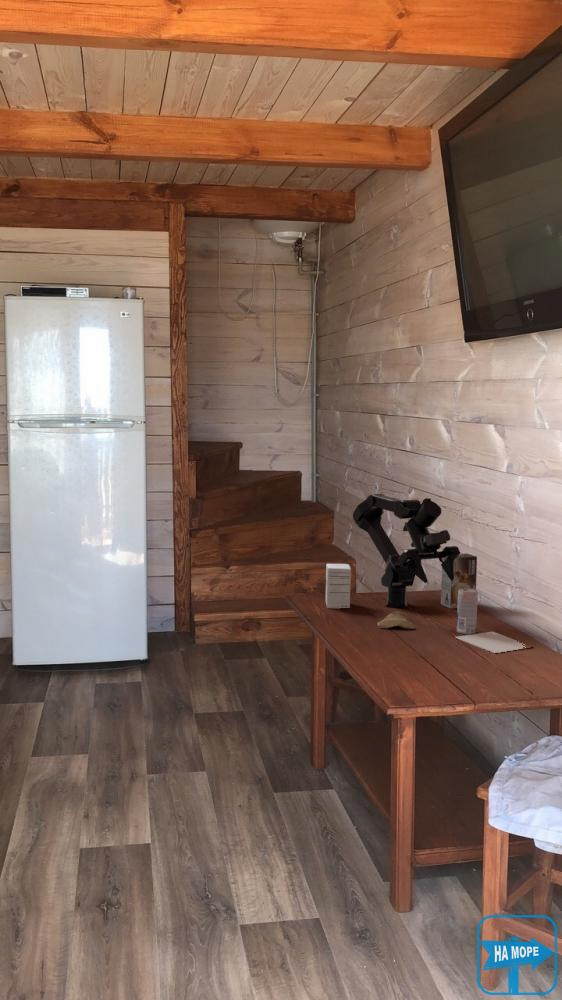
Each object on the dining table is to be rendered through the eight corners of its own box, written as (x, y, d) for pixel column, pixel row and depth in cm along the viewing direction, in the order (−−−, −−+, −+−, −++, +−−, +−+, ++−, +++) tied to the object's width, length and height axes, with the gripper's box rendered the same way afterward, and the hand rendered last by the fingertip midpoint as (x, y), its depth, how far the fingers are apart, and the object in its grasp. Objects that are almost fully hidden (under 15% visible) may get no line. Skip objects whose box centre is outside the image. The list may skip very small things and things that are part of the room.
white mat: (455, 637, 236) (455, 636, 236) (492, 632, 242) (492, 631, 242) (495, 653, 222) (495, 652, 222) (533, 647, 228) (533, 646, 228)
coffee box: (465, 602, 278) (467, 552, 276) (475, 607, 271) (478, 556, 270) (439, 604, 275) (441, 554, 273) (449, 608, 269) (452, 557, 267)
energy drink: (469, 628, 246) (471, 587, 244) (479, 634, 241) (481, 591, 239) (452, 630, 244) (454, 588, 243) (462, 635, 239) (464, 592, 238)
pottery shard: (416, 635, 244) (412, 618, 254) (416, 621, 243) (412, 604, 252) (377, 636, 245) (375, 619, 254) (377, 623, 243) (374, 605, 253)
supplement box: (325, 602, 274) (326, 563, 272) (348, 603, 274) (349, 563, 272) (326, 608, 266) (327, 567, 265) (350, 609, 266) (351, 568, 265)
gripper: (406, 522, 249) (425, 569, 241) (459, 519, 257) (479, 564, 249) (389, 543, 257) (407, 589, 249) (441, 539, 265) (460, 584, 257)
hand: (439, 581), depth 251 cm, fingers open, 9 cm apart
